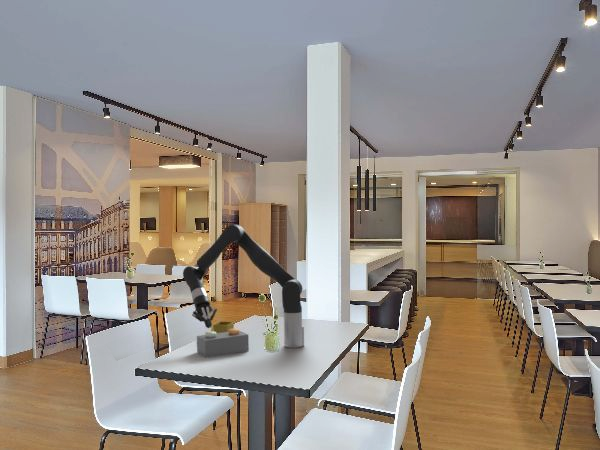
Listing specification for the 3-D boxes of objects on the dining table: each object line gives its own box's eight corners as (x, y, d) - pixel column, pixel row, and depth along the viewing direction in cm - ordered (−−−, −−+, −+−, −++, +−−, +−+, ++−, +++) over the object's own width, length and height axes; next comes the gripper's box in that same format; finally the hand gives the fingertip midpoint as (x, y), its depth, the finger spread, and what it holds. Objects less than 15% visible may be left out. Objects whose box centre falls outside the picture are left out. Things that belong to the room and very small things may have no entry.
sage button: (214, 340, 235) (214, 330, 235) (218, 342, 230) (217, 332, 230) (204, 341, 232) (203, 332, 232) (207, 343, 228) (207, 334, 228)
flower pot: (227, 342, 254) (227, 325, 254) (212, 341, 257) (212, 324, 257) (234, 338, 263) (234, 322, 263) (220, 337, 265) (220, 321, 265)
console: (238, 346, 245) (238, 330, 245) (248, 350, 235) (248, 334, 235) (197, 352, 234) (196, 336, 234) (205, 357, 223) (205, 340, 223)
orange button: (236, 336, 241) (236, 327, 241) (241, 338, 236) (240, 329, 236) (227, 338, 238) (227, 329, 238) (231, 340, 234) (231, 331, 234)
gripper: (189, 295, 237) (197, 324, 227) (214, 293, 244) (224, 320, 234) (186, 304, 242) (194, 333, 231) (211, 302, 249) (220, 329, 238)
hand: (209, 327), depth 233 cm, fingers closed
